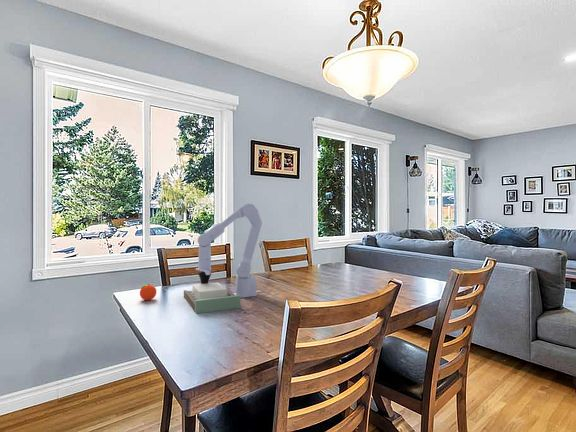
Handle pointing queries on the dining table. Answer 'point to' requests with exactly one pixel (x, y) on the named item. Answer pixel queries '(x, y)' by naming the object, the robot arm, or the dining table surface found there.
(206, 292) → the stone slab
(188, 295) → the roller track
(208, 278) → the robot arm
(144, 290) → the clementine
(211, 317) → the dining table surface
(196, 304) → the bar
